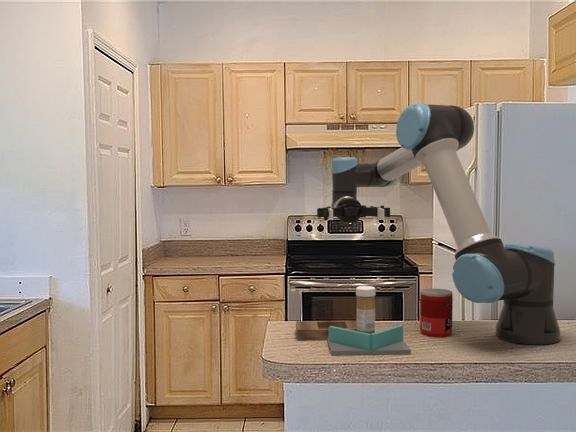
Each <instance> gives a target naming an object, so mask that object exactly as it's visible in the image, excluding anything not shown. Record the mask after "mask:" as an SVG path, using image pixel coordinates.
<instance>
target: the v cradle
mask: <svg viewBox="0 0 576 432" xmlns="http://www.w3.org/2000/svg"><path fill="white" fill-rule="evenodd" d="M326 341H327V344H328V348H329V351H330V354H331V356H380V355H381V356H384V355H385V356H386V355H388V356H390V355H411V354H412V350H411V348H410V347H409V346H408V344H407V343H406V342H405V340H404V325H400V324H398V325H394V326H391V327H388V328H385V329H381V330H378V331H375V333H371V334H369V333H364V332H359V331H354V330H349V329H344V328H340V327H335V326H329V338H327V340H326Z"/></svg>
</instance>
